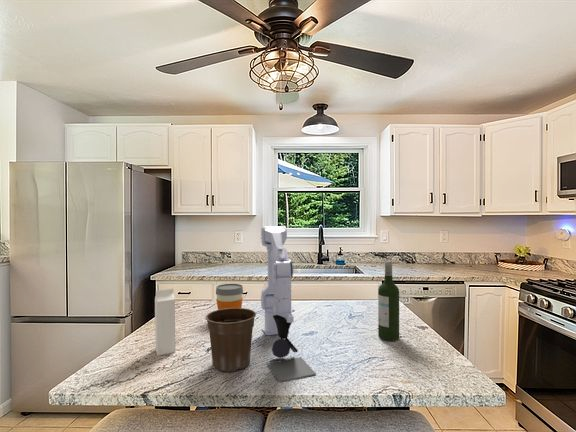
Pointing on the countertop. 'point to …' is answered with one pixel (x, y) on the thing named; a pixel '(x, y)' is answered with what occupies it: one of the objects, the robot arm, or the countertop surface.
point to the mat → (290, 369)
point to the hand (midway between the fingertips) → (283, 337)
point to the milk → (164, 322)
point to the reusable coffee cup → (229, 296)
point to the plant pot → (230, 337)
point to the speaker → (282, 348)
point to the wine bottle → (388, 307)
